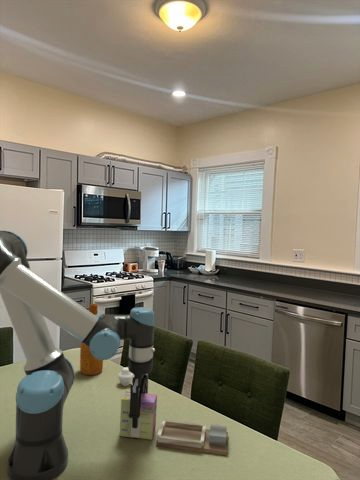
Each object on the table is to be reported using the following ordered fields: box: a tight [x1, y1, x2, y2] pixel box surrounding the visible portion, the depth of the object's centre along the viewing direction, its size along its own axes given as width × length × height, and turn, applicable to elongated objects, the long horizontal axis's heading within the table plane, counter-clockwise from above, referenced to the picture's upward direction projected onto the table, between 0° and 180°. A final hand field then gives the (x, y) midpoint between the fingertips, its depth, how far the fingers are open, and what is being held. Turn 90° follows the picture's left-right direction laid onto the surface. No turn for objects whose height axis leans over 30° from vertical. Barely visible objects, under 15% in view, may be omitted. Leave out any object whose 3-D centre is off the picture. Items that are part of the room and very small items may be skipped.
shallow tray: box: [155, 419, 229, 456], centre depth 110 cm, size 10×21×4 cm, turn 81°
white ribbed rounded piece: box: [117, 366, 134, 387], centre depth 146 cm, size 6×6×7 cm
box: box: [119, 391, 158, 441], centre depth 113 cm, size 10×6×12 cm, turn 84°
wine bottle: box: [79, 303, 104, 376], centre depth 156 cm, size 10×10×30 cm
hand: (138, 430), depth 113 cm, fingers closed on box, 6 cm apart
